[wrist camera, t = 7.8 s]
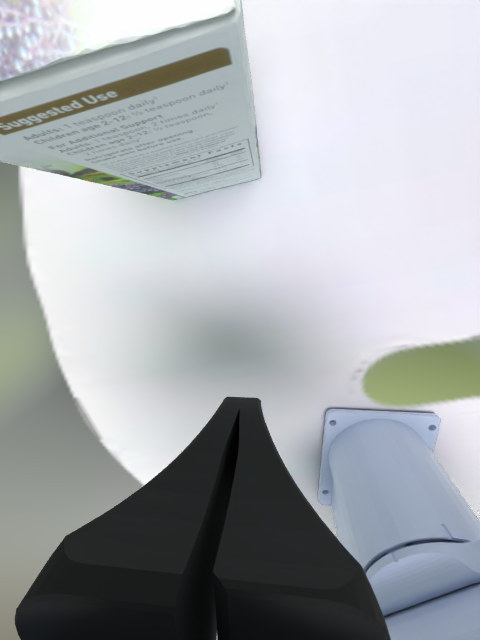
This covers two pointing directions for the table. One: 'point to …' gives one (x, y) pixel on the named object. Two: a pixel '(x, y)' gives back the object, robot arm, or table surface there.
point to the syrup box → (129, 93)
